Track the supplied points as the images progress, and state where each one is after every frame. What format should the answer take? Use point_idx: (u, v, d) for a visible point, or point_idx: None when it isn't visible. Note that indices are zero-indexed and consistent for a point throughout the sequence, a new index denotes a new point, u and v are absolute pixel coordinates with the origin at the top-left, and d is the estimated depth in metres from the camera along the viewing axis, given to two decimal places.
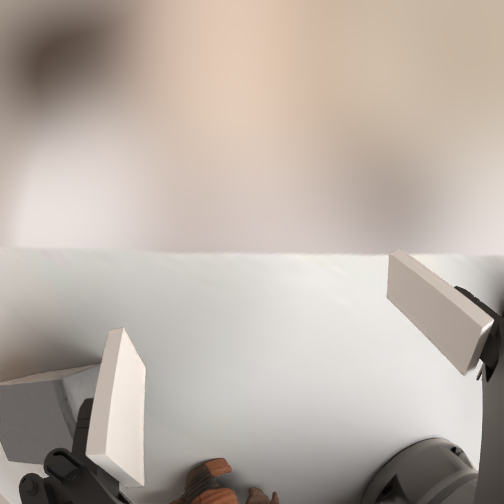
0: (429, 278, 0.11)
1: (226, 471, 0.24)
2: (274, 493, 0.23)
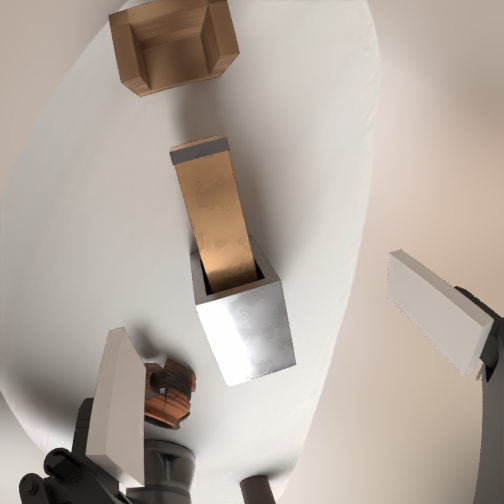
0: (429, 278, 0.11)
1: (193, 390, 0.38)
2: None
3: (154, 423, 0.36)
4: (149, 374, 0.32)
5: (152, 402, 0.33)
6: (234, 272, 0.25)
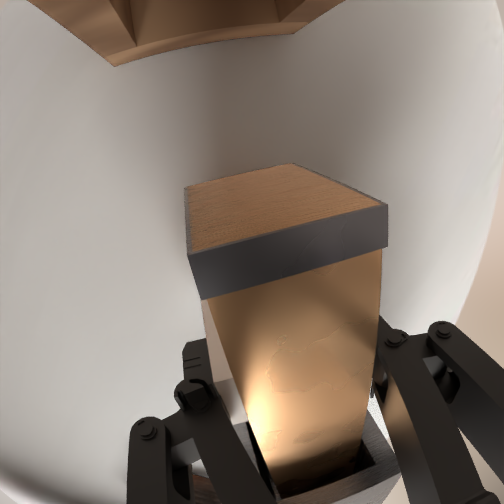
0: None
1: None
2: None
3: None
4: None
5: None
6: (321, 460, 0.11)
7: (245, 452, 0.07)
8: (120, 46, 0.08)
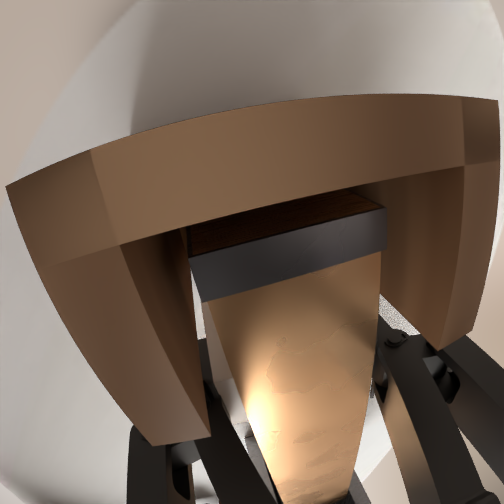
0: None
1: None
2: None
3: None
4: None
5: None
6: (321, 461, 0.11)
7: (245, 452, 0.07)
8: None
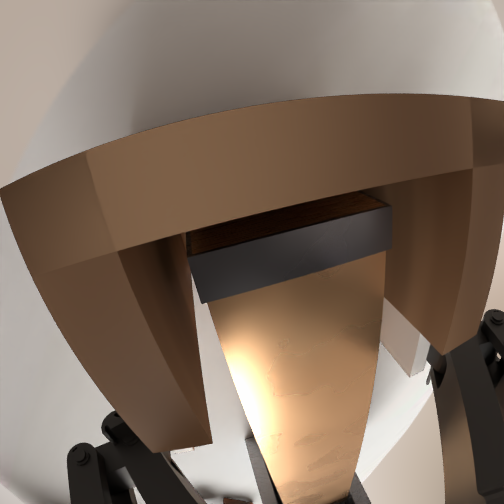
0: None
1: None
2: None
3: None
4: None
5: None
6: (323, 463, 0.10)
7: (178, 480, 0.06)
8: None
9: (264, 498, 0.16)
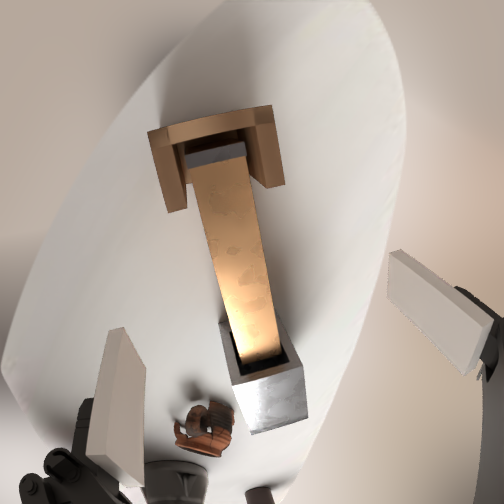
0: (429, 278, 0.11)
1: (232, 424, 0.42)
2: None
3: (197, 452, 0.41)
4: (199, 419, 0.36)
5: (200, 439, 0.37)
6: (246, 280, 0.25)
7: None
8: None
9: (227, 355, 0.31)
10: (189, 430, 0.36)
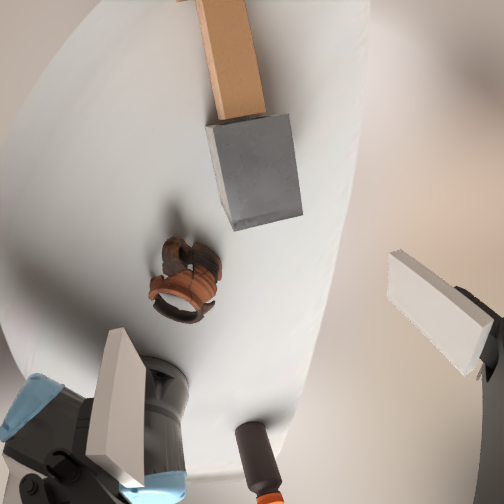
0: (429, 278, 0.11)
1: (219, 278, 0.40)
2: None
3: (175, 318, 0.39)
4: (179, 242, 0.34)
5: (178, 278, 0.35)
6: (231, 26, 0.23)
7: None
8: None
9: (210, 126, 0.29)
10: (165, 258, 0.34)
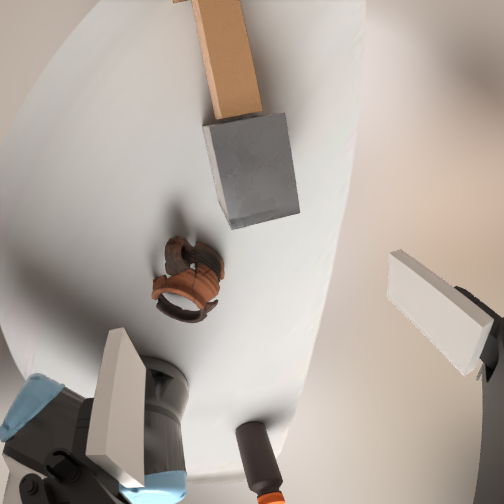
0: (429, 278, 0.11)
1: (221, 277, 0.41)
2: None
3: (178, 317, 0.39)
4: (181, 242, 0.35)
5: (181, 277, 0.35)
6: (227, 26, 0.23)
7: None
8: None
9: None
10: (168, 257, 0.34)
